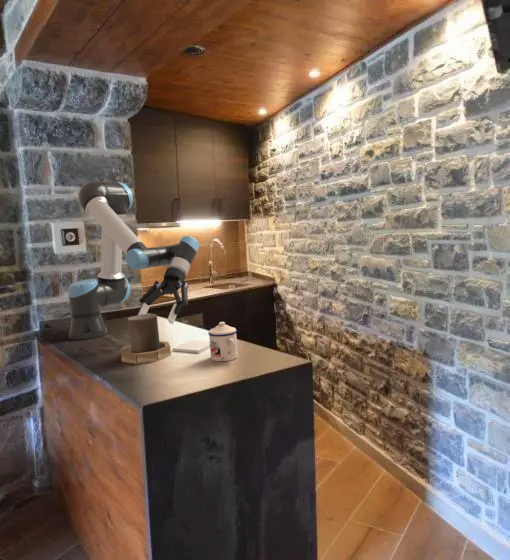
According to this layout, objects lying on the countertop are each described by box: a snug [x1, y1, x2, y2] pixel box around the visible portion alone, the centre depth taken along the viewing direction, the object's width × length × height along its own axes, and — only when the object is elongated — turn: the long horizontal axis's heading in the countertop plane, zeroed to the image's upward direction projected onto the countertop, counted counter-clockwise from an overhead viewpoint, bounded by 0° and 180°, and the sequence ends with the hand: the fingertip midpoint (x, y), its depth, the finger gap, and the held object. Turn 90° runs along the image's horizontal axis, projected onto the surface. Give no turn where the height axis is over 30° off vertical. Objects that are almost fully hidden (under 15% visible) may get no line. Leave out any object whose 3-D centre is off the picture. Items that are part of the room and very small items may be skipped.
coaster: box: [172, 339, 210, 354], centre depth 154 cm, size 11×11×1 cm
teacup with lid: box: [208, 321, 239, 362], centre depth 138 cm, size 12×9×12 cm
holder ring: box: [120, 340, 172, 365], centre depth 147 cm, size 16×16×3 cm
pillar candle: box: [127, 313, 161, 353], centre depth 147 cm, size 10×10×15 cm
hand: (154, 321), depth 149 cm, fingers open, 13 cm apart
